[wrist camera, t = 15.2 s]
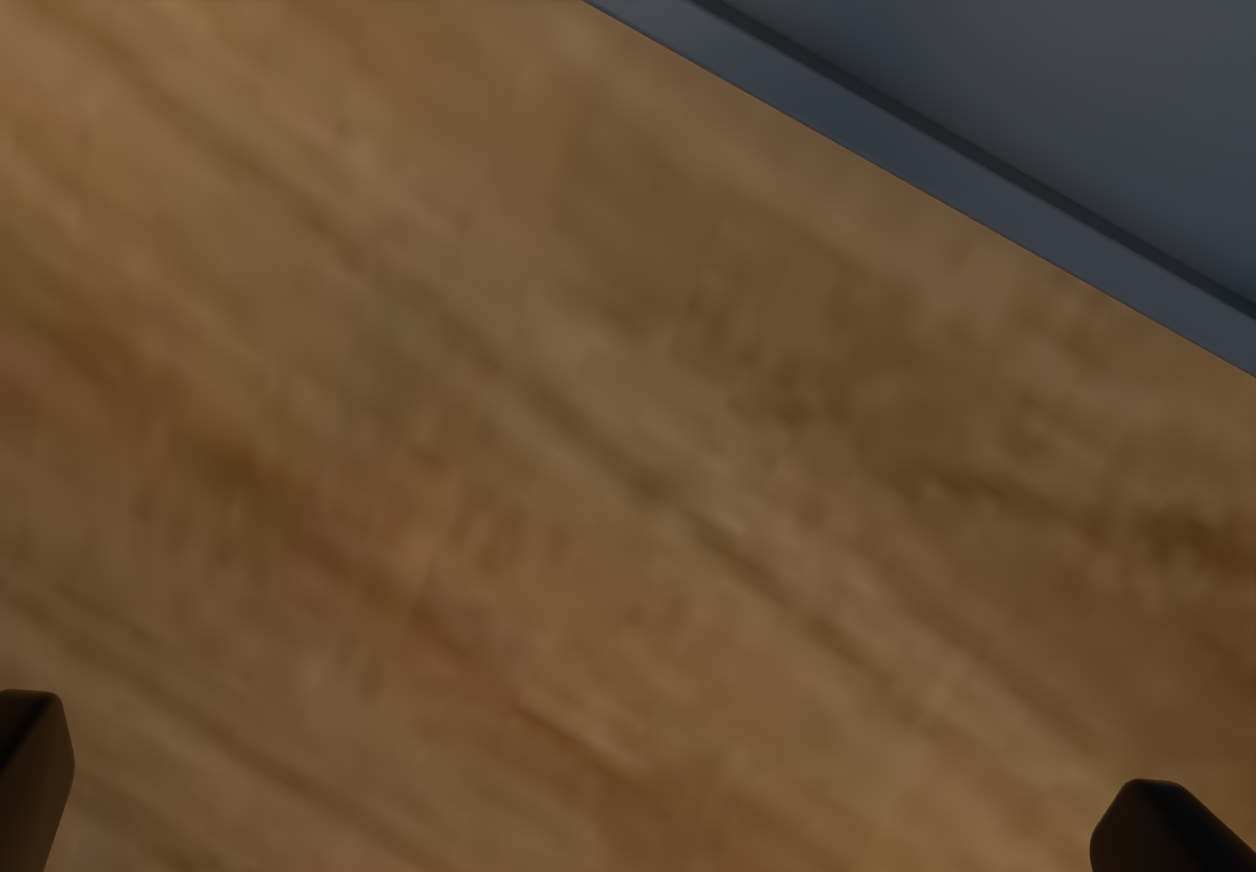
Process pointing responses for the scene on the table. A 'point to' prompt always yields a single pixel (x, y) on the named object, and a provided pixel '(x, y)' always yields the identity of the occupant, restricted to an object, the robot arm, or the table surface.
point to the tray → (1031, 125)
